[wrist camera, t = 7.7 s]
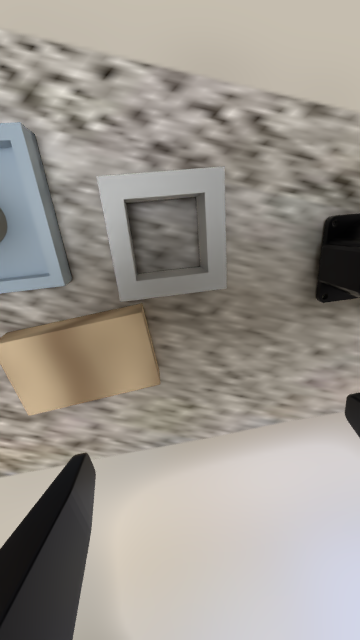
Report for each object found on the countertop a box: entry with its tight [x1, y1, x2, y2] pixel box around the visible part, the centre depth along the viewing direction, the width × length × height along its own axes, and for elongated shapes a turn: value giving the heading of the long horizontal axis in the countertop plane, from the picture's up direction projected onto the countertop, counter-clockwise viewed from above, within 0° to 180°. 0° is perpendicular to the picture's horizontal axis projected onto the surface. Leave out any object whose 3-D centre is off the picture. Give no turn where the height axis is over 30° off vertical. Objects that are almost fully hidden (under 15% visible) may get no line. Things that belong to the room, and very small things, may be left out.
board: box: [0, 303, 160, 416], centre depth 18 cm, size 10×6×2 cm, turn 101°
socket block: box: [97, 166, 227, 302], centre depth 16 cm, size 7×7×2 cm
